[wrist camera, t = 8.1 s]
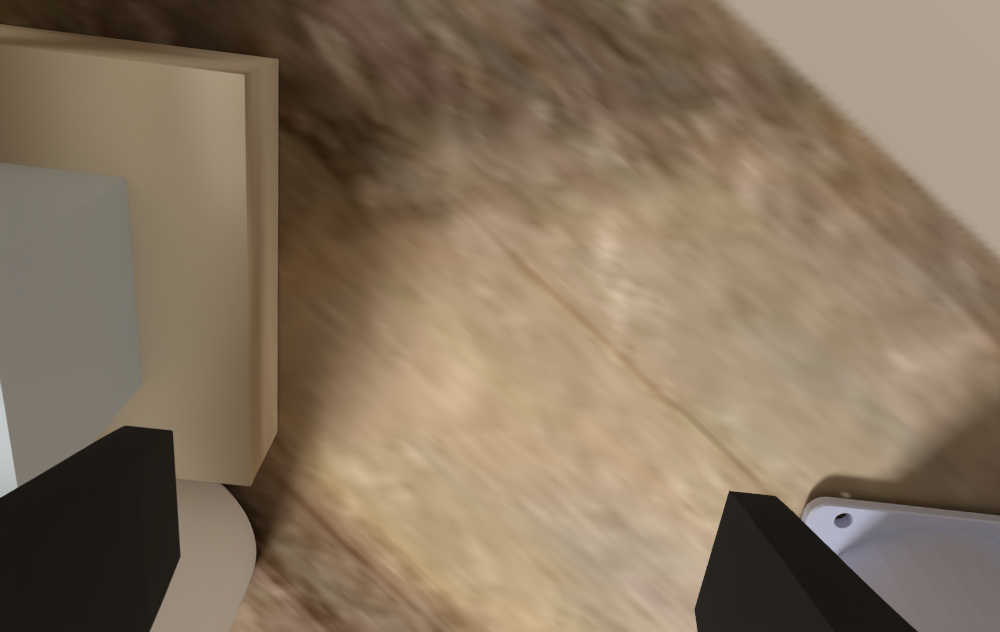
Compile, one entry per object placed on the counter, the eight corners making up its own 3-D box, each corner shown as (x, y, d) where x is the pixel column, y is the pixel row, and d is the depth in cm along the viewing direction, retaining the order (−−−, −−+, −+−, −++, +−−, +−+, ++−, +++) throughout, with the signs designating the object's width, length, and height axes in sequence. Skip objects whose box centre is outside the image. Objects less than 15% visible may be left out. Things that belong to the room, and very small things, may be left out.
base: (278, 58, 18) (244, 75, 16) (277, 431, 22) (250, 486, 20) (-174, 2, 18) (-276, 10, 15) (-89, 391, 22) (-160, 442, 20)
